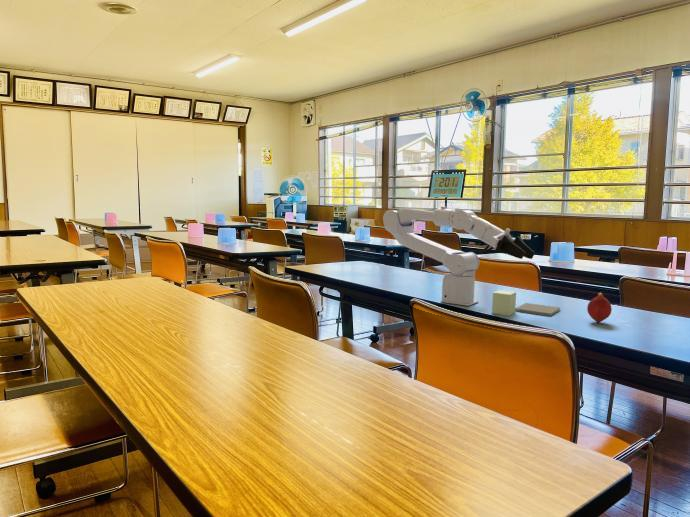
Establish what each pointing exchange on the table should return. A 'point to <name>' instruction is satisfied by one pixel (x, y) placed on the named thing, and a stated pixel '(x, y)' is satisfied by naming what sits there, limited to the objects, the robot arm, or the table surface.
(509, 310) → the block
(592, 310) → the onion
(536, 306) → the coaster
